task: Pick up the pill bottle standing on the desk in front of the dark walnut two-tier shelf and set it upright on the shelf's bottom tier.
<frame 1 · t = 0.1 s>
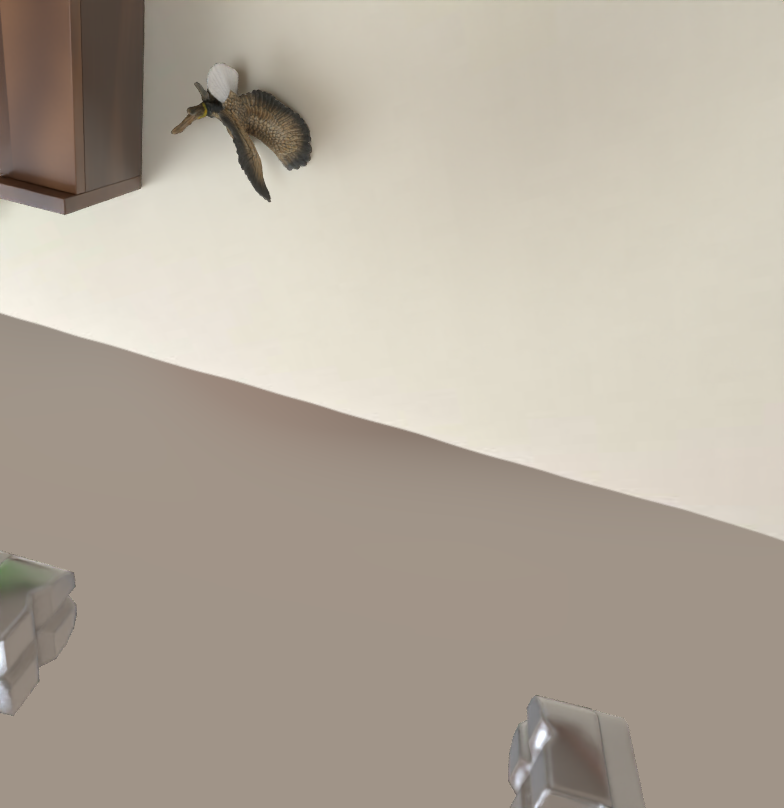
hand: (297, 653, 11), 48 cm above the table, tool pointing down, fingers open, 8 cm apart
shelf: (72, 44, 52), on the table
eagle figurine: (258, 130, 53), on the table
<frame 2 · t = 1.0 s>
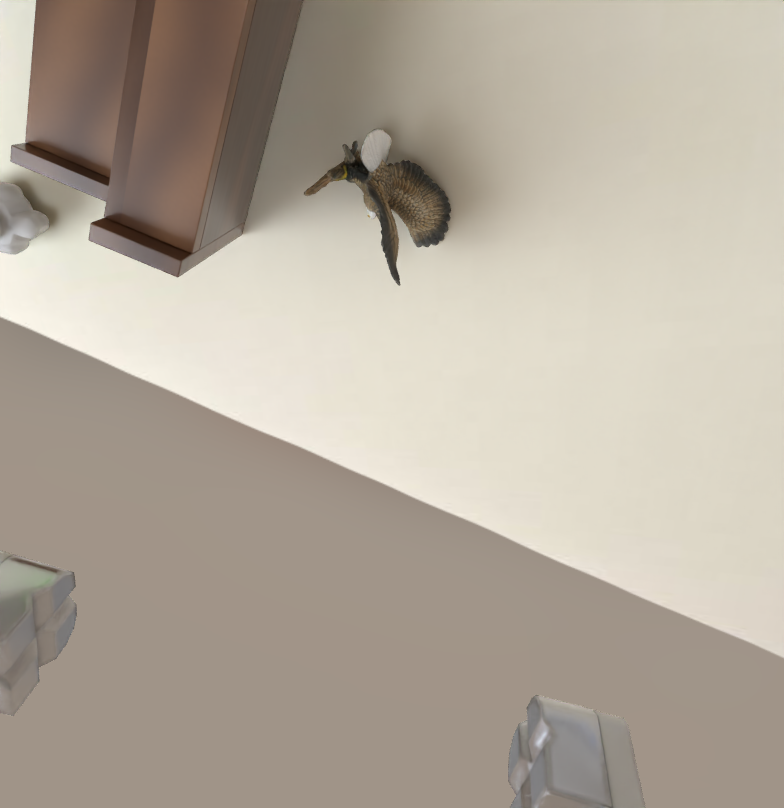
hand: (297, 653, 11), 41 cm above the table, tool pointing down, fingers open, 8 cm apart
rubber duck: (26, 212, 52), on the table
shelf: (197, 67, 45), on the table
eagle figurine: (392, 197, 47), on the table
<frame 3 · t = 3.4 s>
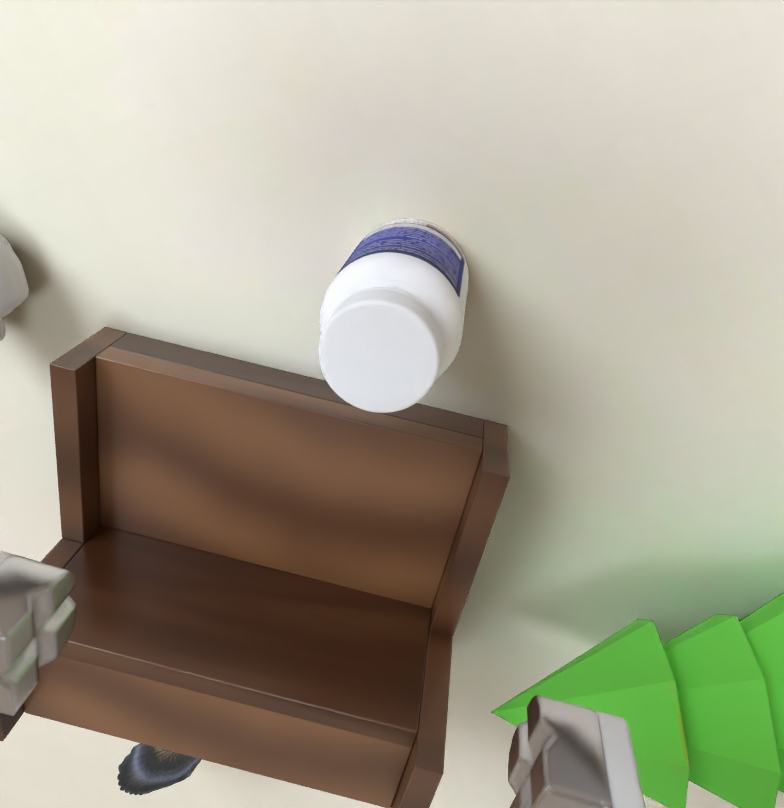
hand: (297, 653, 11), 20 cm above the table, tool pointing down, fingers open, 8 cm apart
shelf: (281, 530, 36), on the table
pill bottle: (410, 276, 28), on the table
decorative tree: (777, 608, 34), on the table
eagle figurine: (214, 693, 44), on the table
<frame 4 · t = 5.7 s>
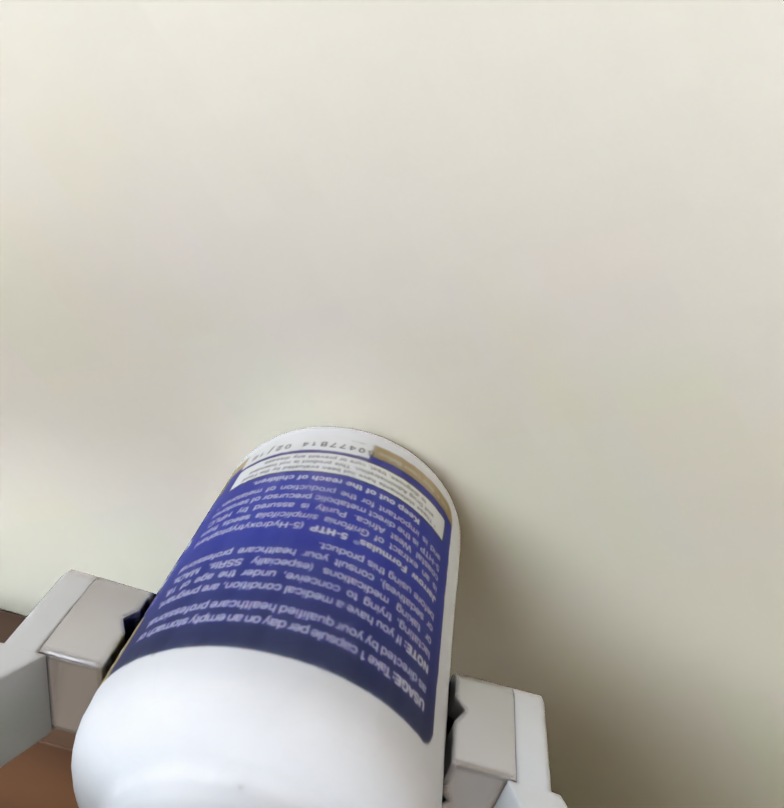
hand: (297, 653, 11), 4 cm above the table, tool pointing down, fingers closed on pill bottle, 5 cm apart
pill bottle: (345, 517, 14), on the table, touching gripper
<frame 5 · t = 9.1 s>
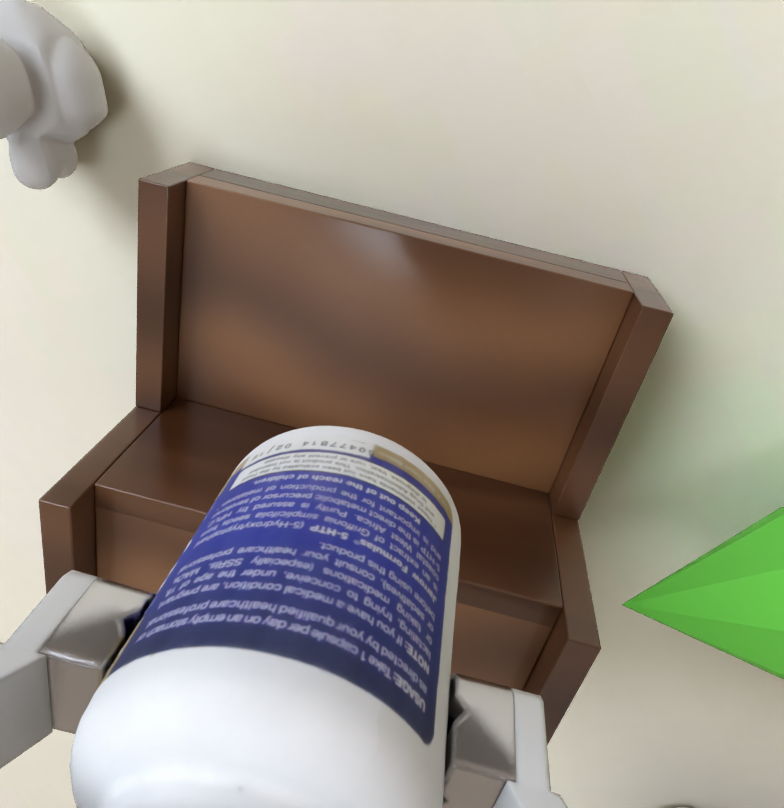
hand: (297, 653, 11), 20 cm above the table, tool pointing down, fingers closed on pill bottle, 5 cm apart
rubber duck: (69, 94, 27), on the table
shelf: (372, 414, 32), on the table
pill bottle: (345, 517, 14), point 17 cm above the table, touching gripper
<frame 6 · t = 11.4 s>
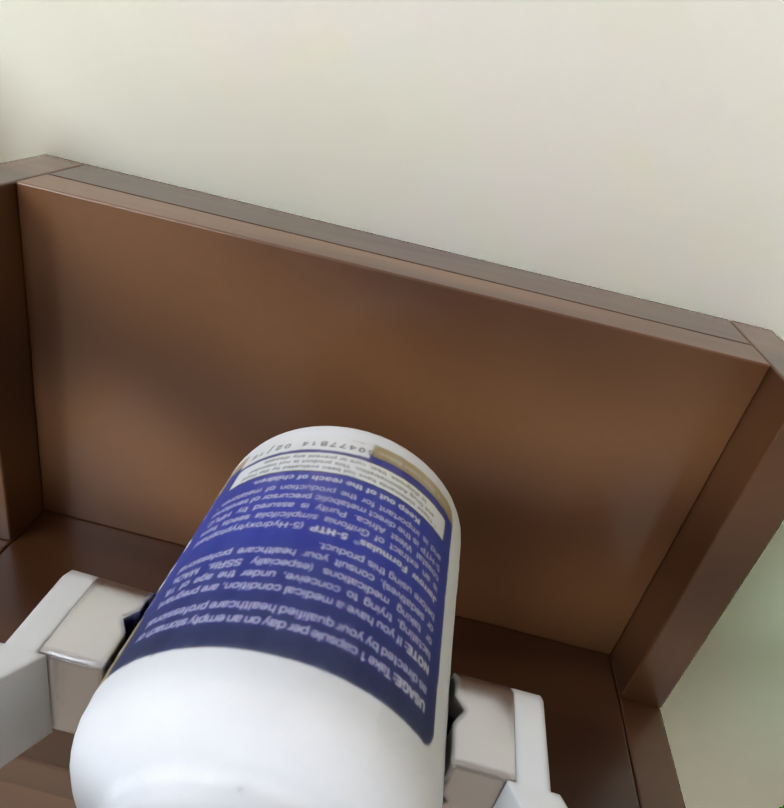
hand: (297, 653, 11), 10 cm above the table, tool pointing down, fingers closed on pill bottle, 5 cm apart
shelf: (343, 521, 22), on the table
pill bottle: (345, 517, 14), point 6 cm above the table, touching gripper
when the fingers open (6 cm above the table, at t = 12.8 s): pill bottle stays where it is, resting on shelf.
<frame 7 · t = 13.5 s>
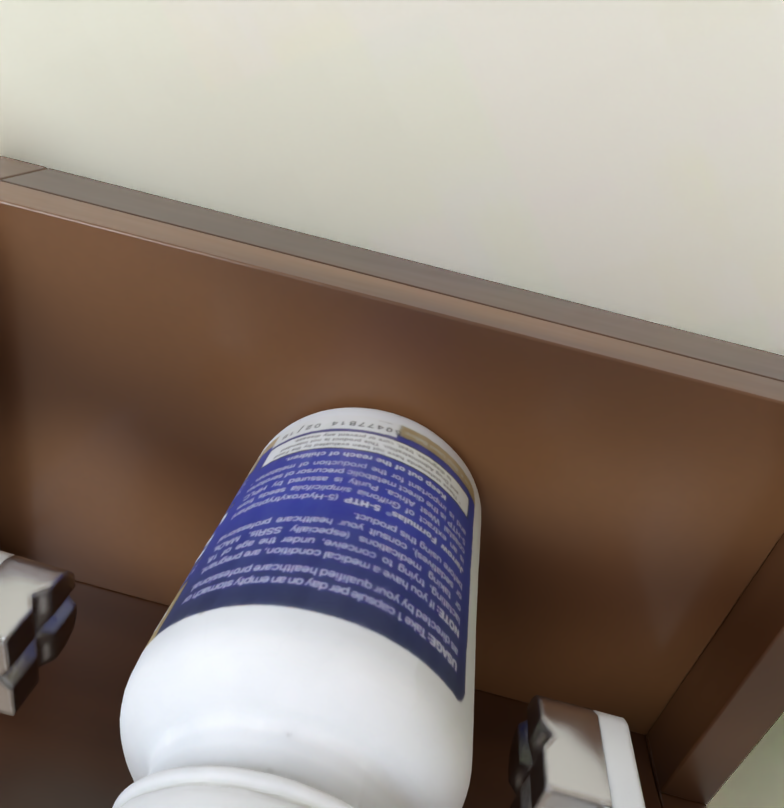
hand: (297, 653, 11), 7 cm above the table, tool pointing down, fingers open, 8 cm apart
shelf: (343, 570, 20), on the table
pill bottle: (368, 497, 15), point 3 cm above the table, touching shelf
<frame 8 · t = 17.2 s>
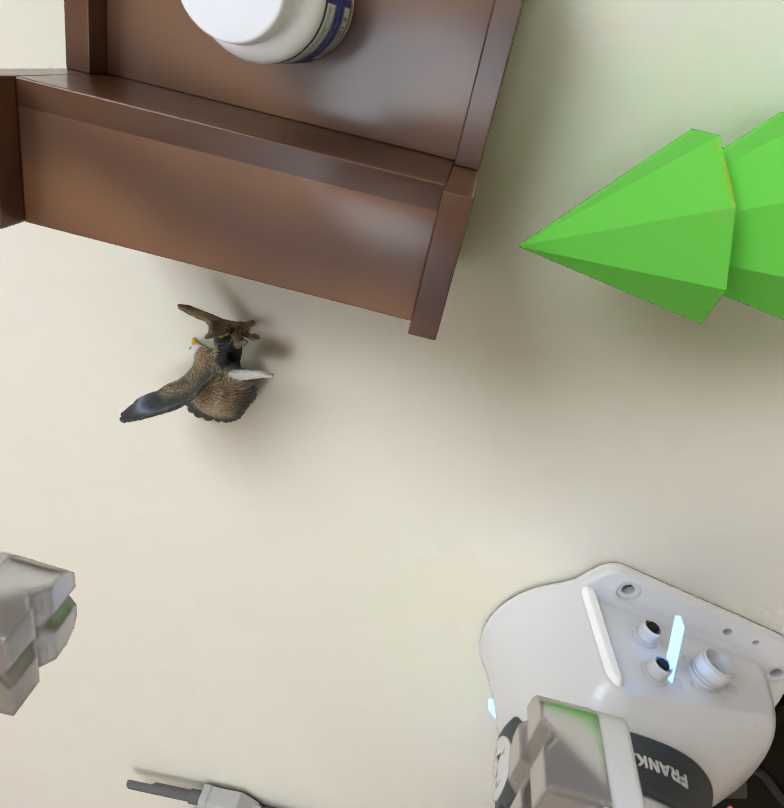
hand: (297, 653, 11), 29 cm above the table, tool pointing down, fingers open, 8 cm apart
shelf: (296, 113, 34), on the table
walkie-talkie: (227, 805, 67), on the table
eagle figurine: (220, 360, 42), on the table
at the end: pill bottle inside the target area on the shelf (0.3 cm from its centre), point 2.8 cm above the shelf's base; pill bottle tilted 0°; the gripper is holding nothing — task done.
